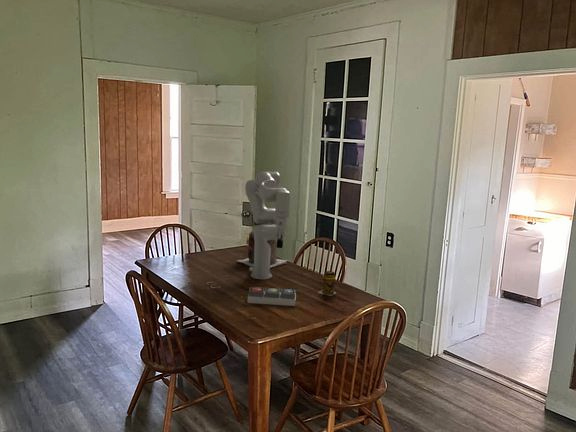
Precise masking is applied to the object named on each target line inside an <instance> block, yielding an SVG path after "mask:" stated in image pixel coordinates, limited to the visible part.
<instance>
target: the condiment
mask: <svg viewBox="0 0 576 432" xmlns="http://www.w3.org/2000/svg"><path fill="white" fill-rule="evenodd" d="M335 285H336V277H335V271H333V270H326V271H325V272H324V276H323V285H322V287H323V288H322V289H321V290H319V291H318V292H317V294H320V295H325V296H329V297H332V296H334V295H336V293H337V292H336V291H335Z"/></svg>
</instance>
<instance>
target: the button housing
mask: <svg viewBox="0 0 576 432" xmlns="http://www.w3.org/2000/svg"><path fill="white" fill-rule="evenodd" d="M252 288H261V289H262V292H254V291H252ZM268 289H277V290H278V293H270V292H267V290H268ZM283 290H292V291H293V294H286V293H283ZM296 299H297V293H296V289H291V288H289V289H288V288H274V287H273V288H272V287H266V288H265V287H258V286H256V287H255V286H250V288H249V291H248V295H247V301H246V302H247V304H261V305H277V306H292V307H295V306H296V303H297V302H296V301H297V300H296Z"/></svg>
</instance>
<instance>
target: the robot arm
mask: <svg viewBox="0 0 576 432" xmlns="http://www.w3.org/2000/svg"><path fill="white" fill-rule="evenodd" d="M281 180H282V179H281V175H280V173H279V172H278V171H259V172H258V173H257V174H256V175H255V179H249V180H247V181H246V183H245V185H244V186H245V187H244V189H245V195H246V198H247V199H248V202H249V204H250V209H251V212H252V213H251V214H252V218H253V222H254V221H255V223H257V224H259V225H257V226H255V225H254V228H253V230H254V240H255V251H254V267H252V266H249V269H248V271H249V272H251V273H250V277H251V278H253V279H256V280H269V279H271V278H273V274H272V273H271V272H270V271H271V268H270V254H271V247H270V245H269V244H268V243H267V241H268V240H276V243H277V246H276V247H277V249H283V248H284V246H283V244H284V240H283V239H284V237H286V234H287V222H288V218H289V216H290V206H291V205H290V204H291V192H290V191H288V190H287V188H284V187H279V186H280V184H281V183H282V181H281ZM265 202H266V203H274V204H275V205H274V207H266V203H265Z"/></svg>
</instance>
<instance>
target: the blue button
mask: <svg viewBox="0 0 576 432" xmlns="http://www.w3.org/2000/svg"><path fill="white" fill-rule="evenodd" d="M292 290H293V289H292ZM292 290H283V293H286V294H293V291H292Z"/></svg>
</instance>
